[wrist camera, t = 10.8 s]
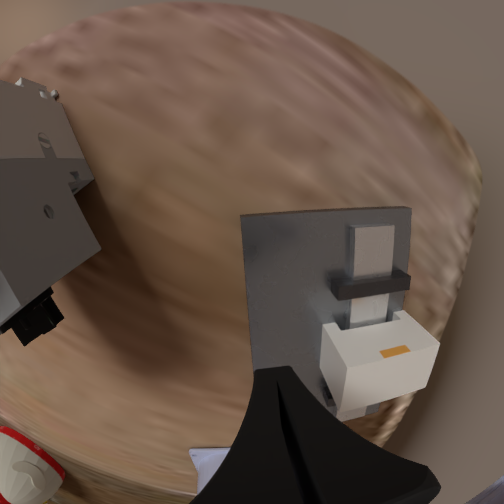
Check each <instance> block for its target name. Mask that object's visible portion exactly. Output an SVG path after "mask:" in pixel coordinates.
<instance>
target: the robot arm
mask: <svg viewBox="0 0 504 504" xmlns="http://www.w3.org/2000/svg"><path fill="white" fill-rule="evenodd" d="M189 454H190V456H191V458H192V461H193V463H194V465H195V467H196V469H197V471H198V486H197V496H196V497H195V498H194V499H193V500H192V501H191V502H190V503H189V504H429V503H430V501H432V500H433V499H434V498H435V497H436V496H437V494H438V493H439V491H440V489H441V485H440V484H439V482H438V480H437V478H436V477H435V475H434V474H433V473H432V472H431V470H430V469H429V468H428V466H425V465H422V464H419V463H416V462H413V461H410V460H407V459H404V458H401V457H399V456H397V455H395V454H392V453H390V452H388V451H386V450H384V449H382V448H380V447H379V446H377V445H375V444H373V443H371V442H370V441H368V440H366V439H364V438H363V437H361V436H360V435H358V434H357V433H355V432H354V431H353V430H351V429H350V428H348V427H347V426H346V425H345V424H343V423H342V422H341V421H340V420H338V419H337V418H336V417H335V416H334V415H333V414H332V413H330V412H329V411H328V410H327V409H326V408H325V407H324V406H323V405H322V404H321V403H320V402H319V401H318V400H317V399H316V397H315V396H314V395H313V394H312V393H311V392H310V391H309V390H308V389H307V387H306V386H305V385H304V384H303V382H302V381H301V380H300V378H299V377H298V376H297V374H296V373H295V371H294V370H293V368H292V367H291V366H289V365H288V366H280V367H271V368H262V369H256V370H255V371H254V383H253V389H252V394H251V398H250V401H249V405H248V408H247V411H246V414H245V417H244V420H243V422H242V425H241V427H240V430H239V432H238V434H237V436H236V438H235V440H234V442H233V444H232V446H231V448H192V449H190V450H189ZM465 504H504V475H503V476H502V477H501V478H499V479H498V480H497V481H496V482H495V483H493V484H492V485H491V486H489V487H488V488H486V489H485V490H484V491H482V492H481V493H480V494H478V495H477V496H476V497H474V498H472V499H471V500H469V501H468V502H466V503H465Z"/></svg>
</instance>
